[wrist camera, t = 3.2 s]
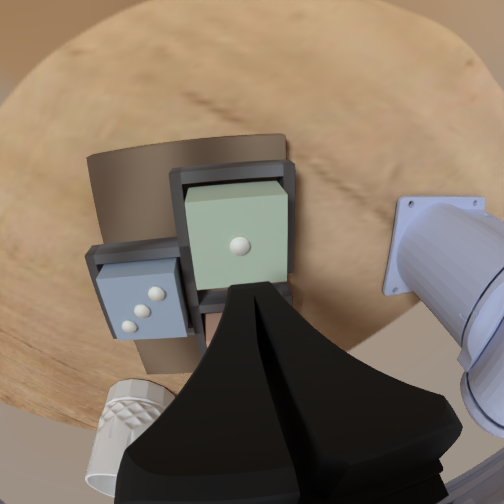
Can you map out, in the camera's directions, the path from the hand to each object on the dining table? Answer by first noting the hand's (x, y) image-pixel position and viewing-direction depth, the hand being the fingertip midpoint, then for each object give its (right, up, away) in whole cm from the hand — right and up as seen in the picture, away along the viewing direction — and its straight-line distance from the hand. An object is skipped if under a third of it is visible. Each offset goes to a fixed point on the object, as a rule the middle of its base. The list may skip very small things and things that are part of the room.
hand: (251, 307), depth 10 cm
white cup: (-10, -12, +16) cm, 22 cm away
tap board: (-3, 0, +10) cm, 10 cm away
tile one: (-1, +3, +6) cm, 7 cm away
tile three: (-6, 0, +9) cm, 11 cm away
